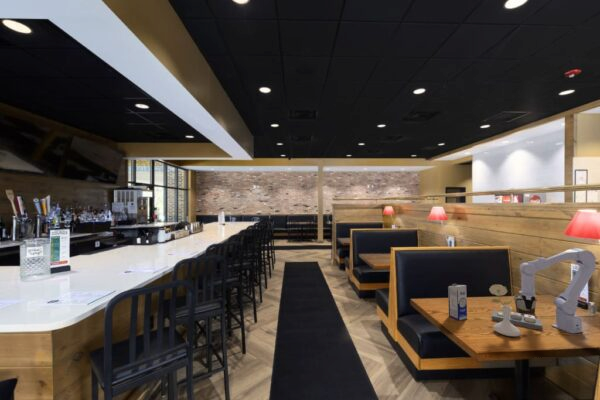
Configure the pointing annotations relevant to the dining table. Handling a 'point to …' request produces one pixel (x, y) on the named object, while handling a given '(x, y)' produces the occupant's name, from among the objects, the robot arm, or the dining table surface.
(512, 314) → the grey key
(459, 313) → the milk carton
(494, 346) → the dining table surface
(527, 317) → the cream key
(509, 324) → the flower in vase
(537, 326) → the keypad
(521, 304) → the food container
